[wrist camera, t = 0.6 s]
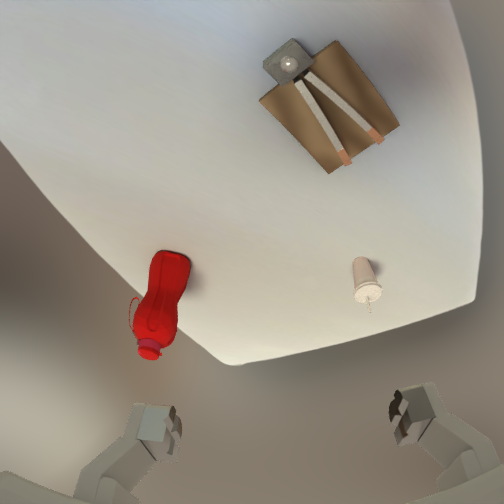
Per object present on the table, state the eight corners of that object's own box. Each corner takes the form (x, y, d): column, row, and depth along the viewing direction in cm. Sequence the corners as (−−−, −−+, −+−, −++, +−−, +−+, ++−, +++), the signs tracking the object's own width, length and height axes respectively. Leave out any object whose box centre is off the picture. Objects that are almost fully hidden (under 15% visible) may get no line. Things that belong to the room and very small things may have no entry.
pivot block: (292, 37, 39) (295, 41, 35) (309, 56, 41) (315, 62, 36) (263, 61, 42) (262, 68, 38) (280, 78, 44) (282, 88, 39)
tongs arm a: (301, 72, 42) (303, 77, 39) (306, 66, 41) (309, 71, 38) (371, 134, 48) (378, 144, 45) (377, 129, 47) (384, 139, 44)
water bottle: (147, 244, 70) (114, 337, 52) (193, 254, 72) (171, 351, 54) (146, 270, 77) (118, 358, 59) (188, 279, 78) (169, 370, 60)
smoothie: (342, 260, 71) (352, 310, 61) (366, 248, 68) (380, 297, 58) (354, 275, 75) (365, 323, 65) (377, 263, 72) (391, 311, 61)
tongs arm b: (291, 78, 43) (293, 83, 40) (298, 74, 42) (301, 79, 39) (340, 155, 51) (345, 166, 48) (346, 151, 51) (352, 163, 48)
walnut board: (335, 40, 39) (337, 41, 38) (397, 122, 47) (400, 125, 46) (259, 99, 47) (259, 101, 46) (327, 170, 55) (328, 174, 54)
